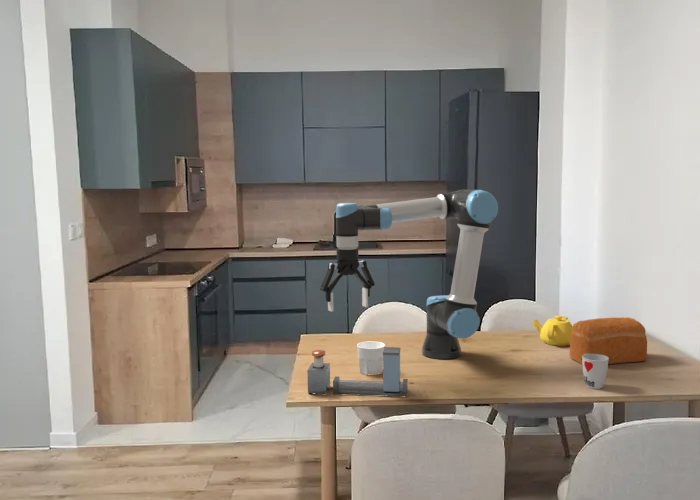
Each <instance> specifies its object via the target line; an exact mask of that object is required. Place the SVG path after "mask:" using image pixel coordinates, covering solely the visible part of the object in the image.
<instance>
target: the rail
mask: <svg viewBox="0 0 700 500" xmlns="http://www.w3.org/2000/svg"><path fill="white" fill-rule="evenodd" d="M408 382H409V379H408V378H403V379H402V381H400V383H399V392H391V391H384V390H383V380H381V381H380V380H378V381H377V380H355V379H354V380H353V379H340V376H334V379H333V380H332V393H331V394H332V395H337V394H359V395H358V396H364V395H387V396H386V397H392V396H405V397H404V398H407V397H408V391H409V385H408Z"/></svg>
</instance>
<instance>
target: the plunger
mask: <svg viewBox="0 0 700 500" xmlns="http://www.w3.org/2000/svg"><path fill="white" fill-rule="evenodd" d="M312 356H313V360H314V361H313V363H314V368H323V363H324V356H326V351H325V350H323V349H315V350H313V351H311V357H312Z"/></svg>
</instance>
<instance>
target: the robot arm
mask: <svg viewBox="0 0 700 500" xmlns="http://www.w3.org/2000/svg"><path fill="white" fill-rule="evenodd" d="M358 204H359V203H356V202H340V203H337V204H336V209H335V225H336V226H335V228H336V239H335V240H336V247H337V249H336V263H332V262H329V263H328V266H327V271H326V273H325V275H324V278H323V280H322V282H321V285H320V291H322V292H325V302H327V310H328V311H329V312H330V313H331V312H334V292H333V289H334V288H335V286H337V284H338V282H339V281H340V280H341V279H342V277H343V276H349V275H351V276H353V275H354V276H355V278H357V280H358V281H359V282H360V283H361V285H362V286H363V287H362V289H361V291H362V292H361V293H362V294H361V298H362V299H361V300H362V301H361V304H362V305H361V306H362V307H364V308H369V298H370V296H371V289H372V287H374V286H375V284H376V283H375V281H374V279H373V277H372V275H371V273H370V271H369V269H368V265H367V263H368V262H367V260H363V259H361V260H360V261H359V249H358V248H359V231H374V230H375V231H376V230H378V231H379V230H380V231H382V230H389V229H390V228H391V227H392V224H393V223H401V222H403V223H404V222H410V221H416V220H426V219H432V218H433V219H434V218H439V219H440V220H446V219H450V220H451V219H452V220H453V219H455V220H457V223H456V224H457V225H456V226H457V227H458V228H459V230H460V231H459V238H458V245H457V251H456V256H455V262H454V269H453V274H452V280H451V281H452V282H451V288H450V293H449V294H447V295H445V294H444V295H432V296H429V297H428V298H427V299H426V336H425V337H424V341H423V344H422V350H421V354H422V355H423V356H424V357H426V358H431V359H435V360H436V359H437V360H450V359H456V358H459V357H460V356H461V355H462V347H461V344H460V342H459V341H460V340H459V339H467V338H470V337H471V336H473V335H474V334H475V333H476V332H477V331H478V329H479V327H480V323H481V322H480V321H481V320H480V316H479V314H478V312H477V306H478V302H477V301H476V299H475V291H476V286H477V285H476V284H477V280H478V274H479V273H478V272H479V266H480V261H481V255H482V248H483V242H484V237H485V233H486V232H487V231H489V230H490V225H491V223H492V222H493V220H495V218H497V215H498V213H499V204H498V201H497V199H496V197H495V196H494V195H493V194H492V193H490V191H487V190H482V189H465V188H464V189H459V190H456V191H455V190H454V191H450V192H443V193H438V194H437V195H436V196H433V197H427V198H419V199H412V200H403V201H395V202H386V203H385V202H384V203H379V204H371V205H362V204H361V205H358ZM358 268H360V269H361V271H362V273H363V275H362V273H361V271H359V270H358ZM336 269H337V270H336ZM335 270H336V272H335ZM333 275H334V276H333Z"/></svg>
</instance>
